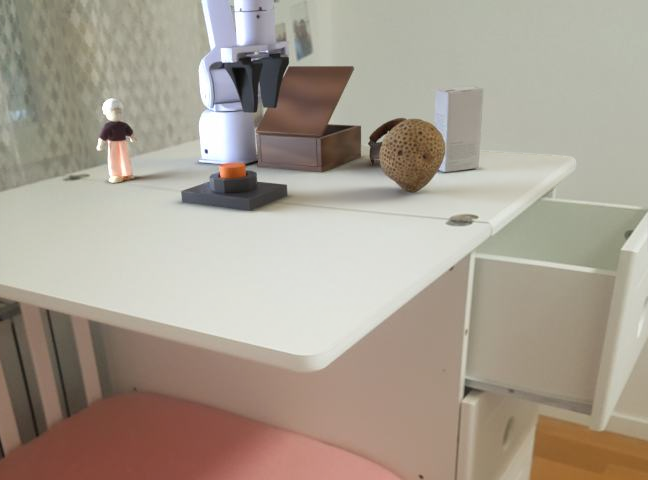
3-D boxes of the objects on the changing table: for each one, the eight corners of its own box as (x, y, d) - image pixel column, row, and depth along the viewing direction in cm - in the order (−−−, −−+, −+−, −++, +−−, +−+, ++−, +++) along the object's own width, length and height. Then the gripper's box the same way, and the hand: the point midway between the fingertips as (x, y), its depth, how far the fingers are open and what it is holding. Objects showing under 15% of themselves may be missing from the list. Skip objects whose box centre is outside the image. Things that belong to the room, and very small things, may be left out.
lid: (290, 68, 124) (288, 66, 123) (354, 68, 117) (353, 66, 117) (256, 133, 119) (255, 131, 119) (321, 137, 113) (320, 135, 112)
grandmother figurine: (117, 184, 114) (105, 101, 108) (98, 183, 115) (86, 101, 110) (147, 174, 120) (137, 95, 114) (129, 173, 121) (118, 95, 116)
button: (215, 179, 99) (214, 166, 99) (230, 173, 102) (229, 161, 101) (235, 181, 98) (234, 168, 97) (251, 175, 100) (250, 163, 100)
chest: (300, 152, 132) (299, 122, 129) (361, 156, 125) (361, 125, 123) (258, 166, 122) (256, 134, 119) (321, 172, 115) (320, 138, 113)
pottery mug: (438, 171, 114) (417, 128, 109) (384, 197, 117) (361, 156, 113) (430, 139, 123) (410, 98, 118) (380, 164, 126) (359, 125, 122)
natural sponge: (434, 202, 95) (437, 124, 90) (370, 198, 98) (370, 123, 94) (448, 186, 102) (452, 114, 98) (388, 183, 105) (389, 113, 101)
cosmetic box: (465, 164, 115) (470, 85, 110) (480, 169, 112) (485, 87, 106) (430, 168, 114) (434, 88, 109) (444, 173, 110) (448, 90, 105)
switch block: (182, 202, 101) (179, 178, 99) (221, 189, 108) (219, 165, 106) (250, 211, 95) (248, 185, 93) (287, 196, 101) (286, 171, 100)
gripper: (247, 11, 95) (253, 117, 101) (304, 8, 106) (307, 104, 112) (206, 13, 99) (214, 115, 105) (265, 10, 110) (270, 103, 115)
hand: (260, 109), depth 109 cm, fingers open, 5 cm apart
